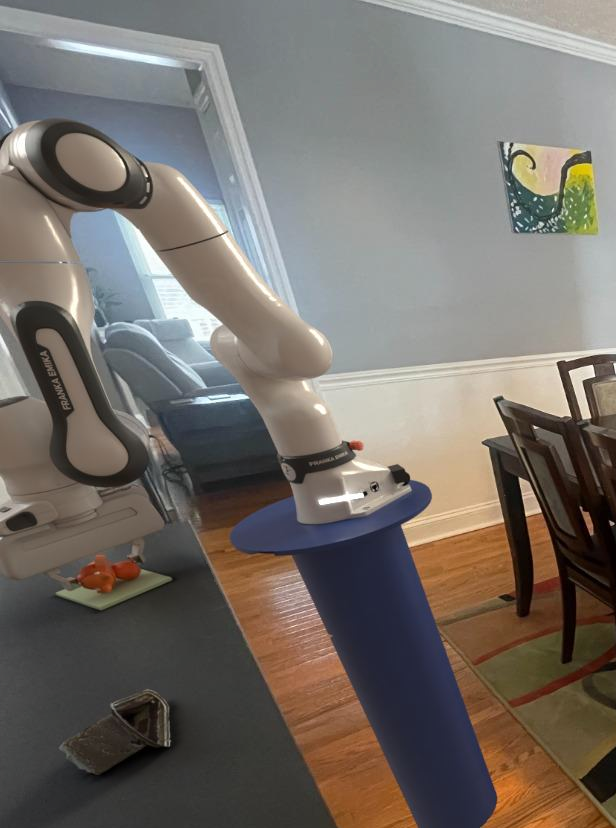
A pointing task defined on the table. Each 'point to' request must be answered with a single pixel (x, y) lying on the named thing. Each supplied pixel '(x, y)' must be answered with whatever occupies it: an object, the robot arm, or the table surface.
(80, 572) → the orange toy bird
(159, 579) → the place mat
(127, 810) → the table surface
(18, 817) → the table surface
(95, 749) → the brown hollow wedge shell
